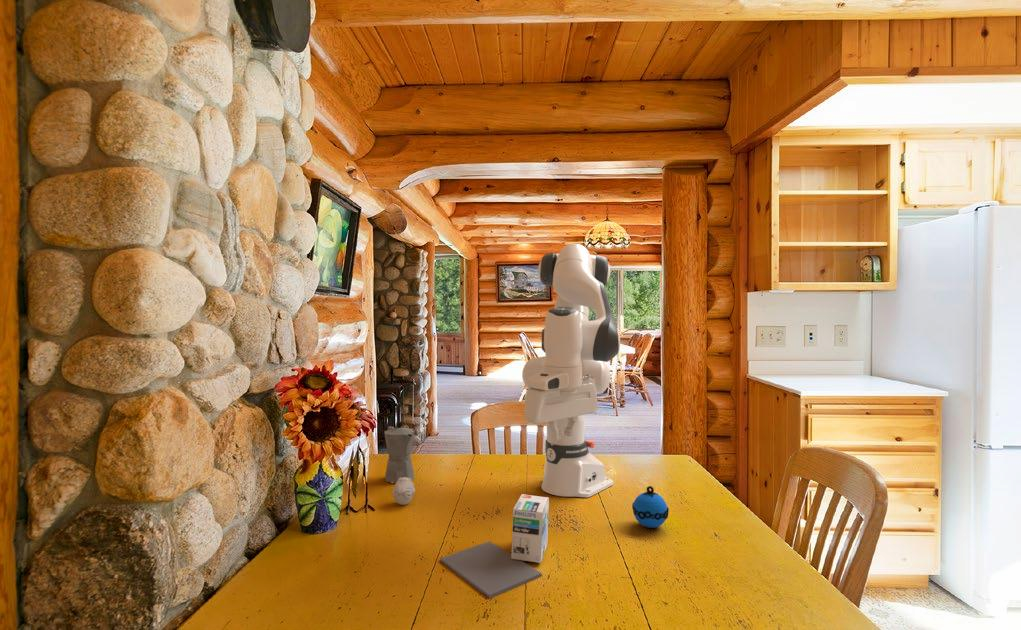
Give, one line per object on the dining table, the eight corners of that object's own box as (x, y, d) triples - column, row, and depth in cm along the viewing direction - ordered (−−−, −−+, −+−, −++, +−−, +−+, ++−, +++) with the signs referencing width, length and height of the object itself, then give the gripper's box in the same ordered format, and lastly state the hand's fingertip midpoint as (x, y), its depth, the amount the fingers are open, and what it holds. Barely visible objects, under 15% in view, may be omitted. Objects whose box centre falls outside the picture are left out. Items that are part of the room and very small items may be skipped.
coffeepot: (424, 480, 164) (424, 422, 163) (398, 488, 157) (397, 428, 157) (397, 469, 175) (396, 415, 174) (371, 476, 168) (371, 419, 168)
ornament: (625, 527, 130) (625, 486, 130) (643, 516, 137) (643, 478, 136) (658, 537, 125) (658, 495, 124) (674, 526, 131) (674, 486, 131)
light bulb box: (541, 564, 111) (543, 512, 111) (510, 559, 113) (512, 509, 113) (547, 543, 122) (549, 496, 122) (519, 539, 123) (521, 493, 123)
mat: (489, 543, 122) (489, 541, 121) (541, 576, 107) (541, 573, 107) (440, 561, 114) (440, 558, 113) (489, 598, 99) (489, 595, 99)
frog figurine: (418, 499, 149) (417, 474, 148) (410, 509, 142) (410, 483, 142) (396, 498, 149) (396, 474, 149) (388, 508, 142) (388, 482, 142)
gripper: (584, 372, 131) (584, 427, 132) (520, 380, 119) (520, 441, 119) (603, 375, 126) (603, 432, 127) (539, 383, 114) (538, 447, 114)
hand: (562, 437), depth 123 cm, fingers open, 3 cm apart
